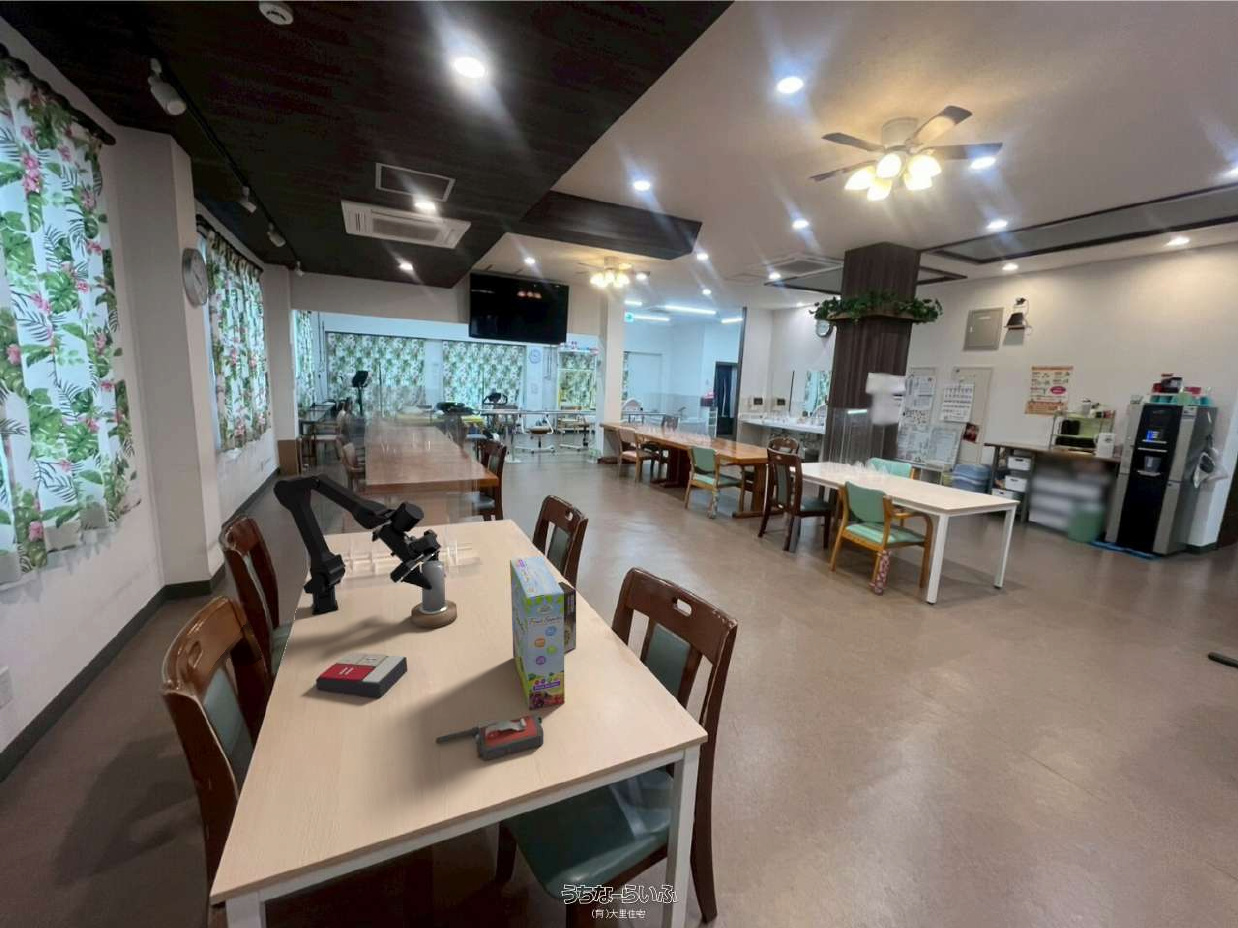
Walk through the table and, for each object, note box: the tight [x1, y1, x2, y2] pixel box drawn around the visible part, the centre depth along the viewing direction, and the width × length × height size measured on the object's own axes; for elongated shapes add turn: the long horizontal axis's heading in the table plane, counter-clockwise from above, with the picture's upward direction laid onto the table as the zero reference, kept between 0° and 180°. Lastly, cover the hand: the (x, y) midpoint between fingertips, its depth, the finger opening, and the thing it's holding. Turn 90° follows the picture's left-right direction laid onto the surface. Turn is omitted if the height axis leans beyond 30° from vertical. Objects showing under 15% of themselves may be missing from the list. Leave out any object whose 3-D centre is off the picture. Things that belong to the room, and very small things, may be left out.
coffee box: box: [558, 581, 577, 653], centre depth 130 cm, size 9×6×16 cm
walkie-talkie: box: [435, 714, 544, 762], centre depth 97 cm, size 9×4×20 cm
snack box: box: [509, 555, 566, 710], centre depth 116 cm, size 22×9×26 cm, turn 21°
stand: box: [410, 599, 458, 630], centre depth 144 cm, size 12×12×3 cm
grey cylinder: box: [419, 560, 448, 615], centre depth 143 cm, size 8×8×13 cm
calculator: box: [315, 651, 408, 700], centre depth 116 cm, size 11×4×15 cm
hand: (438, 583), depth 143 cm, fingers open, 8 cm apart
